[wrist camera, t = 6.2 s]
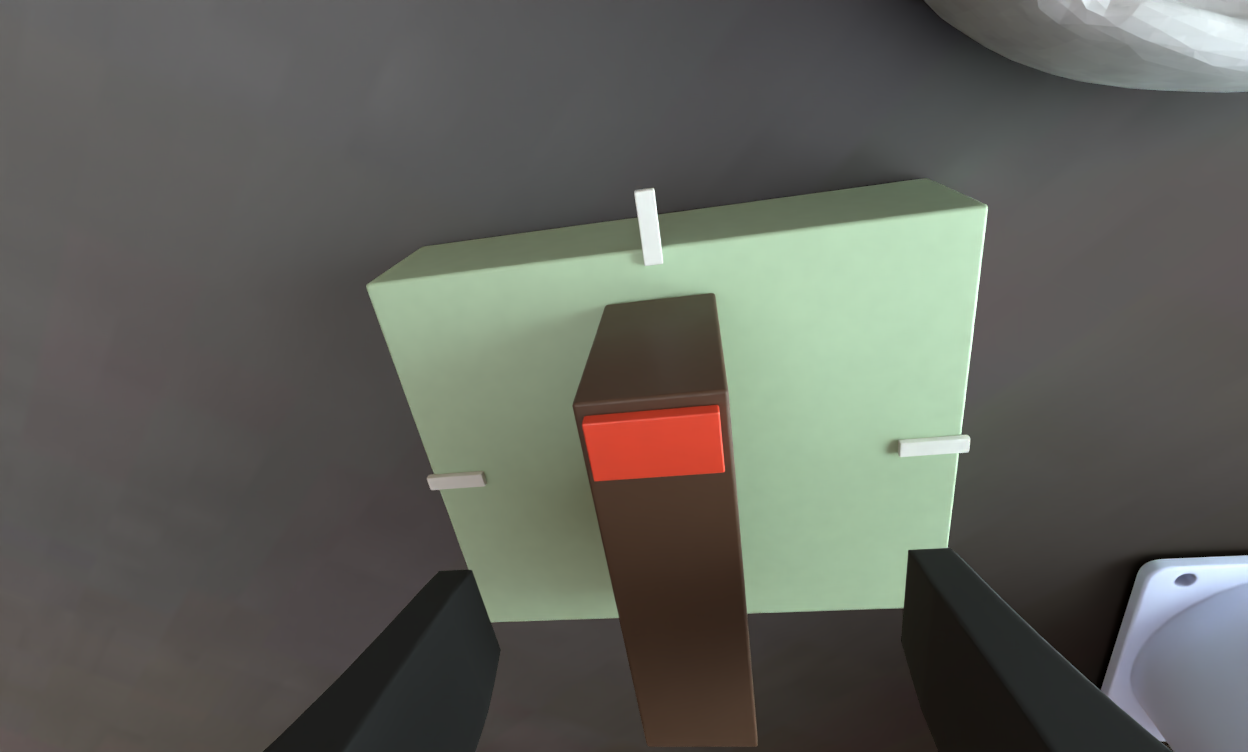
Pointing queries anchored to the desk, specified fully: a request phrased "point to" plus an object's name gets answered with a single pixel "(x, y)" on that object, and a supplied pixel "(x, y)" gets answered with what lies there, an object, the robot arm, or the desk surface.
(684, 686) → the brown block
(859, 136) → the desk surface
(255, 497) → the desk surface
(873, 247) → the stand
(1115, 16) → the dish
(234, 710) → the desk surface
